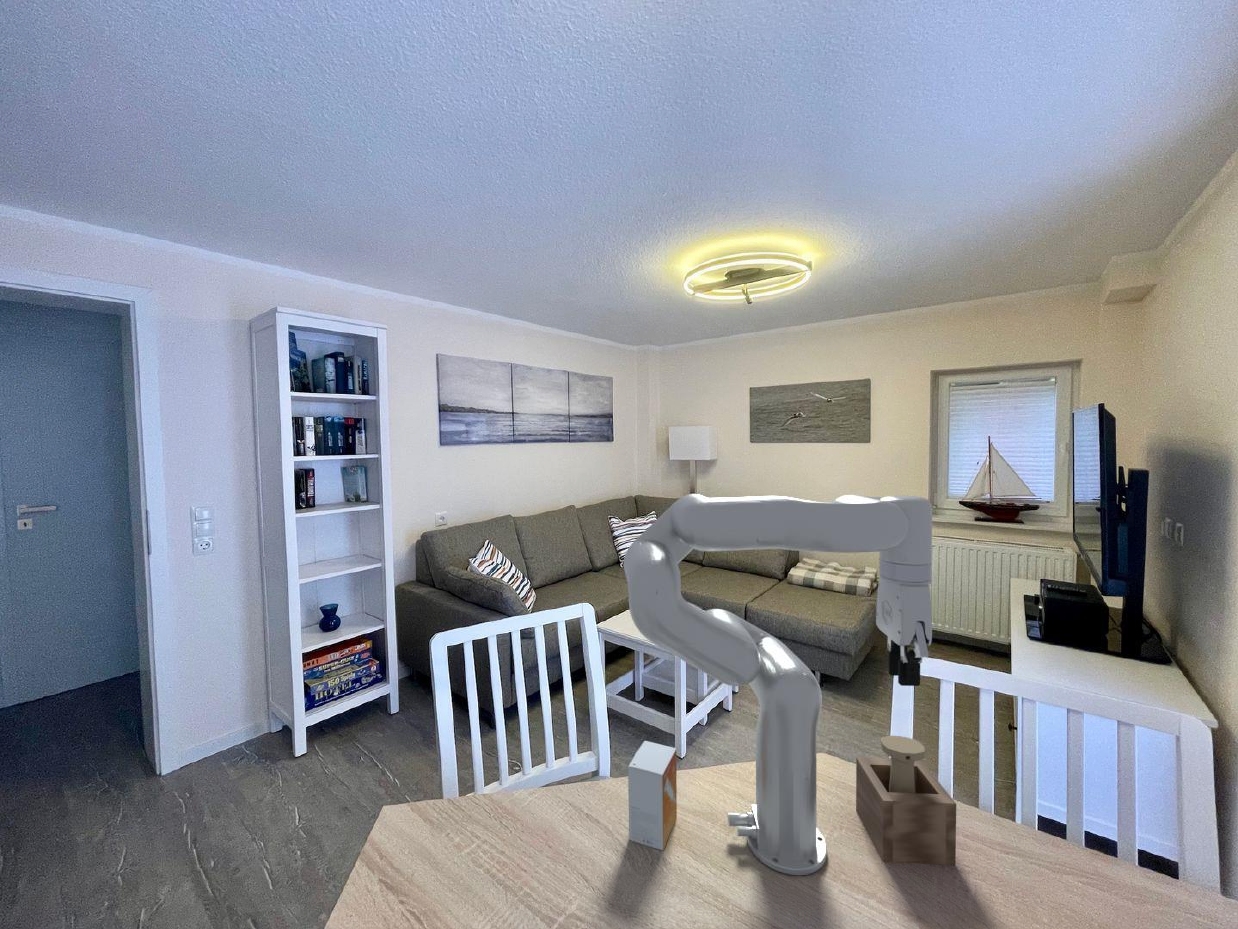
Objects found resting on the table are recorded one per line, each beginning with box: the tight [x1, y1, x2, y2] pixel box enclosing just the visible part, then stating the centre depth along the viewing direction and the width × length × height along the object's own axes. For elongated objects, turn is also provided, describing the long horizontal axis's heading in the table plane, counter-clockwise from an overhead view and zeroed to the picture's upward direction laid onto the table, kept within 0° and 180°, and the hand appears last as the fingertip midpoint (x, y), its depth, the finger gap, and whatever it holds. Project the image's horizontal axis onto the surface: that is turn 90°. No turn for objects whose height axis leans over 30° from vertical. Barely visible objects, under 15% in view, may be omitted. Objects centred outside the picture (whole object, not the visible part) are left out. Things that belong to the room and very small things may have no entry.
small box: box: [627, 740, 678, 851], centre depth 87 cm, size 8×6×13 cm
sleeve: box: [855, 756, 957, 866], centre depth 85 cm, size 11×11×10 cm
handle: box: [880, 735, 926, 793], centre depth 85 cm, size 5×6×15 cm
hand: (903, 678), depth 84 cm, fingers open, 2 cm apart
